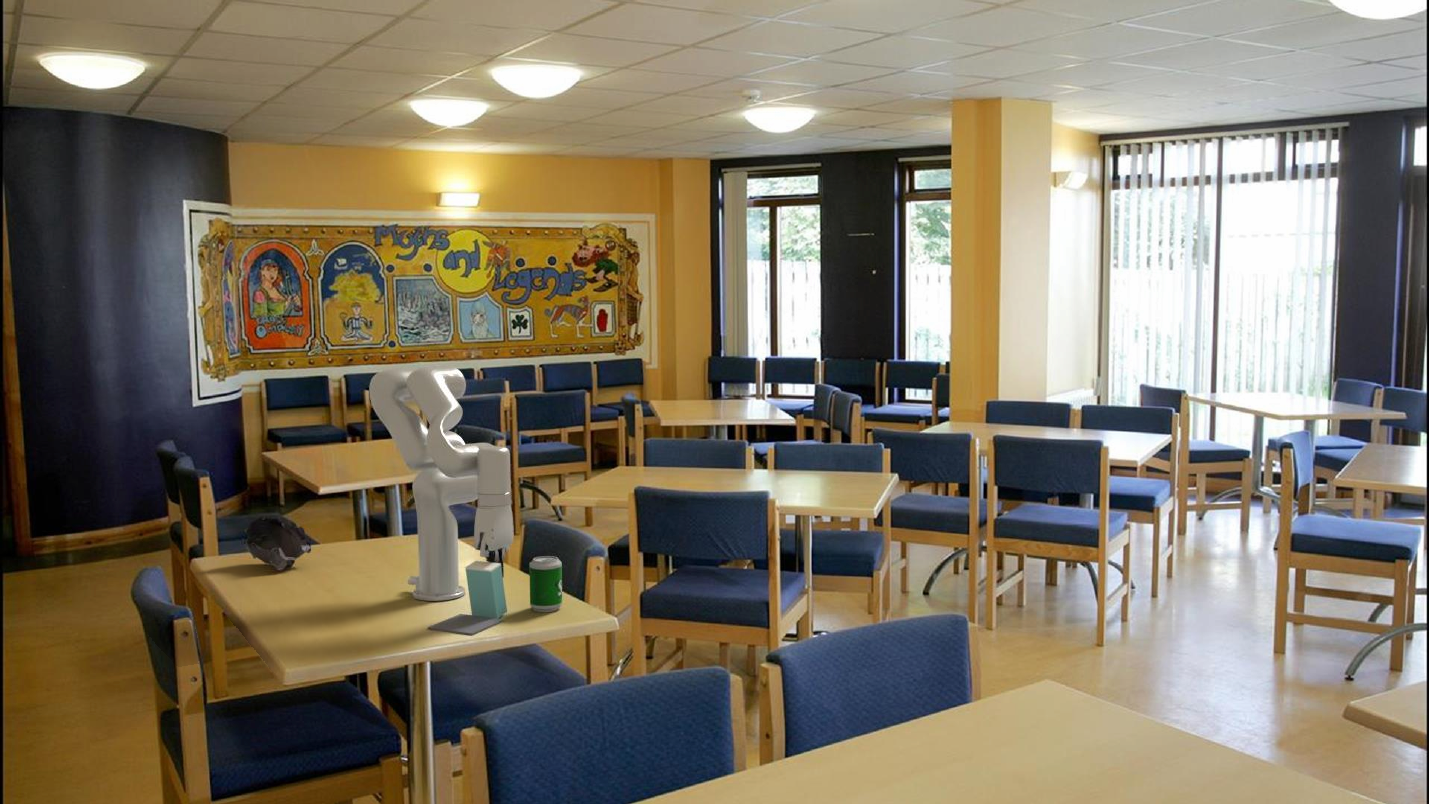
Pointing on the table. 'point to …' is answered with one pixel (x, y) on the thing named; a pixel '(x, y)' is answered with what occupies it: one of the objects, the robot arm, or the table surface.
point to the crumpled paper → (276, 541)
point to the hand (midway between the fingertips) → (495, 577)
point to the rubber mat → (466, 624)
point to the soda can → (545, 584)
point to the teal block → (486, 589)
